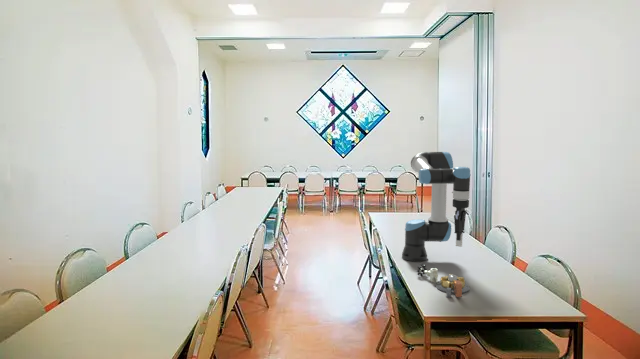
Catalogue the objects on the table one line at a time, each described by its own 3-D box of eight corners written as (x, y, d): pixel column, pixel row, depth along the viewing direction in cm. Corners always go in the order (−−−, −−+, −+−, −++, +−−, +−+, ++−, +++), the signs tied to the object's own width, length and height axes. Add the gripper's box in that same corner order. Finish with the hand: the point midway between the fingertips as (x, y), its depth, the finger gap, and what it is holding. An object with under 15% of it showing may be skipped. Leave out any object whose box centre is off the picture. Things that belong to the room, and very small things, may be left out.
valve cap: (435, 280, 221) (435, 269, 220) (467, 283, 217) (468, 271, 216) (435, 292, 206) (436, 280, 205) (470, 295, 202) (471, 282, 201)
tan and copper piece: (439, 280, 217) (439, 269, 217) (461, 281, 216) (461, 269, 215) (446, 296, 197) (447, 283, 196) (471, 297, 196) (471, 284, 195)
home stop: (446, 295, 201) (447, 287, 201) (451, 296, 201) (451, 288, 200) (446, 297, 200) (446, 288, 199) (450, 297, 199) (450, 289, 198)
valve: (441, 281, 220) (425, 274, 230) (441, 269, 219) (425, 263, 230) (431, 284, 217) (416, 276, 227) (431, 271, 216) (416, 264, 227)
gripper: (457, 196, 213) (455, 241, 216) (449, 200, 202) (447, 248, 206) (472, 197, 209) (470, 243, 212) (465, 202, 198) (462, 250, 201)
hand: (458, 246), depth 209 cm, fingers closed
